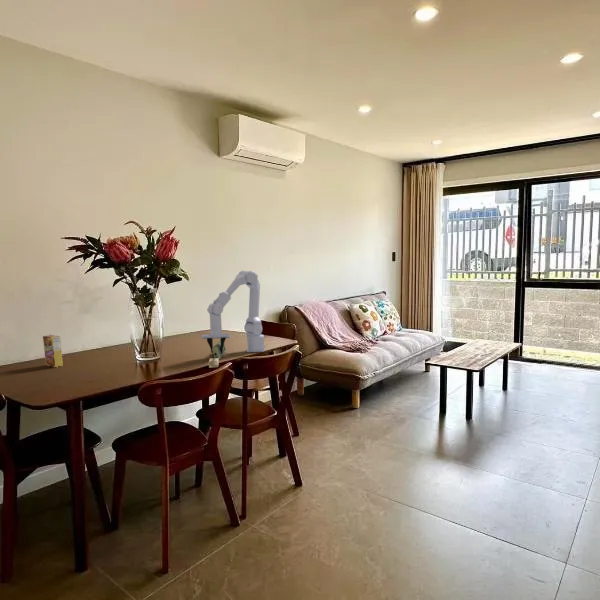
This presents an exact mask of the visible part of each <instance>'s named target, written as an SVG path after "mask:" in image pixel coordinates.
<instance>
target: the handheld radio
mask: <svg viewBox="0 0 600 600" xmlns="http://www.w3.org/2000/svg"><path fill="white" fill-rule="evenodd" d="M212 351H213V353H212V354H213V357H214V358H218V359H219V360H221V359H222V357H223V355H225V353H226V352H227V349H226V346H225V344H224V345H223V351H222V353H221V341H220V340H218V342H217V343H215V344H214V345H213V348H212Z"/></svg>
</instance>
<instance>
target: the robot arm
mask: <svg viewBox="0 0 600 600" xmlns="http://www.w3.org/2000/svg"><path fill="white" fill-rule="evenodd" d="M258 278H259V277H258V274H257V273H256V271H253V270H241V271H239V273H237V275H236V276H235V278H234V280H233V281H232V282H231V283H230V285H229V286H228V287H227V289H226V291H222V292H219V294H218V296H217V297H216V298H215V299H214V300H213V301H212V303H210V304H209V305H208V307H207V312H208V314H209V325H210V326H209V329H210V334H202V335H201V339H202V340H206V341H207V344H208V345H209V348H210V351H211V354H213V351H212V348H213V347H214V344H213V339H214V340H215V339H220V340H219V341H221V353H222V351H223V345H225V342H226V340H227V339H231V337H232V335H231V333H222V331H223V330H222V314H223V311H224V308H225V307H226V306H227V304H228V303H229V302H230V300H231V299H232V295H233V294H234V293H235V292H236V291H237V290H238V288H240V287H241V286H242V285H246V286H247V287H248V288H249V296H248V297H249V299H248V317H247V318H246V320H245V324H244V326H243V327H244V331H245V332H246V343H247V344H246V345H247V348H246V353H257V352H258V353H261V352H263V353H264V352H265V348H266V347H265V346H266V345H265V335H264V334H262V332H263V325H262V320H261V319H260V318H259V316H260V315H259V314H260V313H259V312H260V295H261V292H260V290H261V284H260V281H259V279H258Z"/></svg>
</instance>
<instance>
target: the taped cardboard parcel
mask: <svg viewBox="0 0 600 600" xmlns="http://www.w3.org/2000/svg"><path fill="white" fill-rule="evenodd" d="M219 362H220V359H218V358H215V357H214V358H212V357H211V358H209V361H208V368H218V367H219V365H220V364H219Z"/></svg>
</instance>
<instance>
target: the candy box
mask: <svg viewBox="0 0 600 600" xmlns="http://www.w3.org/2000/svg"><path fill="white" fill-rule="evenodd" d="M42 342H43V343H42V344H43V349H44V360H45V366H46V365H47V366H46V367H50V366H52V367H51V368H55V367H57V368H59V367H58V366H61V367H63V366H64V365H63V364H64V363H63V353H62V352H63V351H62V343H61V335H53V334H46V335H42Z"/></svg>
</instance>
